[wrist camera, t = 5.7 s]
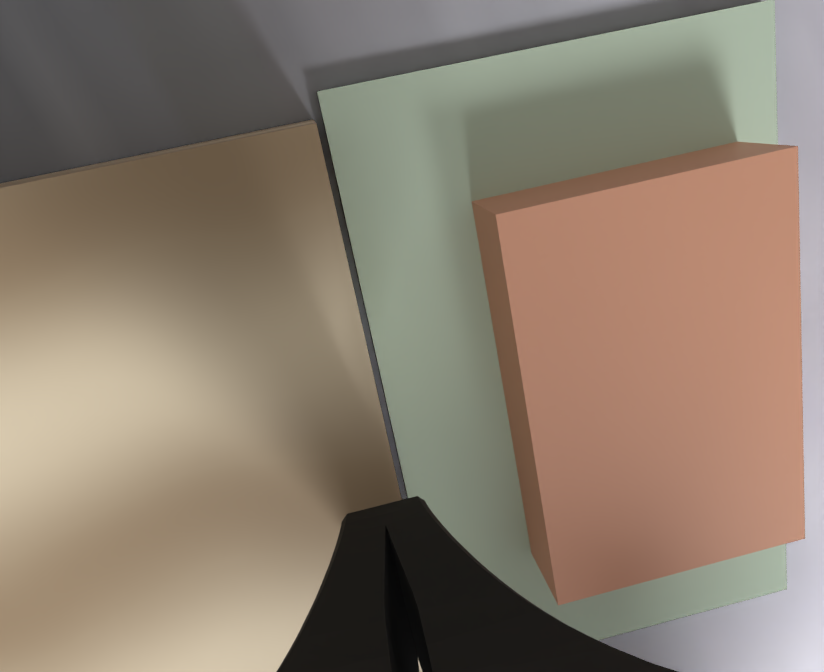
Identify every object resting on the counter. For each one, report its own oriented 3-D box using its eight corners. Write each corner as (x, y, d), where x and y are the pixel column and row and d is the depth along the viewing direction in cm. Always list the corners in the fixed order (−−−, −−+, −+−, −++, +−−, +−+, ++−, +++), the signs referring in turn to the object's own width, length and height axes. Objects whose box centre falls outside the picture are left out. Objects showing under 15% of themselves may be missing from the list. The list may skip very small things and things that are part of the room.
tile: (558, 605, 16) (531, 553, 18) (804, 538, 16) (753, 494, 18) (495, 214, 13) (471, 201, 15) (797, 146, 14) (737, 141, 15)
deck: (435, 657, 19) (468, 792, 15) (-185, 823, 18) (-317, 1015, 14) (313, 119, 14) (316, 123, 11) (-533, 292, 13) (-867, 366, 9)
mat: (777, 579, 20) (786, 588, 20) (445, 669, 19) (448, 681, 19) (762, 2, 15) (774, -2, 15) (316, 91, 14) (317, 91, 14)
